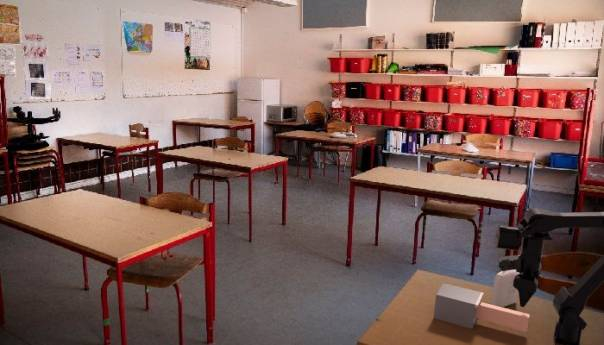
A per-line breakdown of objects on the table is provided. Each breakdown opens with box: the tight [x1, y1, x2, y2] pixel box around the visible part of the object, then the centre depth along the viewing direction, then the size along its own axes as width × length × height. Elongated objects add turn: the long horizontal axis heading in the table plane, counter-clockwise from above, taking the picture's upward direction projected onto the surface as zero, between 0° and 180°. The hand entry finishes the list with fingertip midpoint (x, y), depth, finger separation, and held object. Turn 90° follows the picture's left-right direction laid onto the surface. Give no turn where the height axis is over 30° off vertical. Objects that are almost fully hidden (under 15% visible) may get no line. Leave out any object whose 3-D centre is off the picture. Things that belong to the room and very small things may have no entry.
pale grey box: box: [433, 283, 485, 330], centre depth 161 cm, size 13×10×8 cm
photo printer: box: [490, 269, 520, 308], centre depth 171 cm, size 10×4×12 cm, turn 123°
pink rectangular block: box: [475, 301, 531, 333], centre depth 155 cm, size 16×2×5 cm, turn 61°
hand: (523, 300), depth 150 cm, fingers open, 9 cm apart
